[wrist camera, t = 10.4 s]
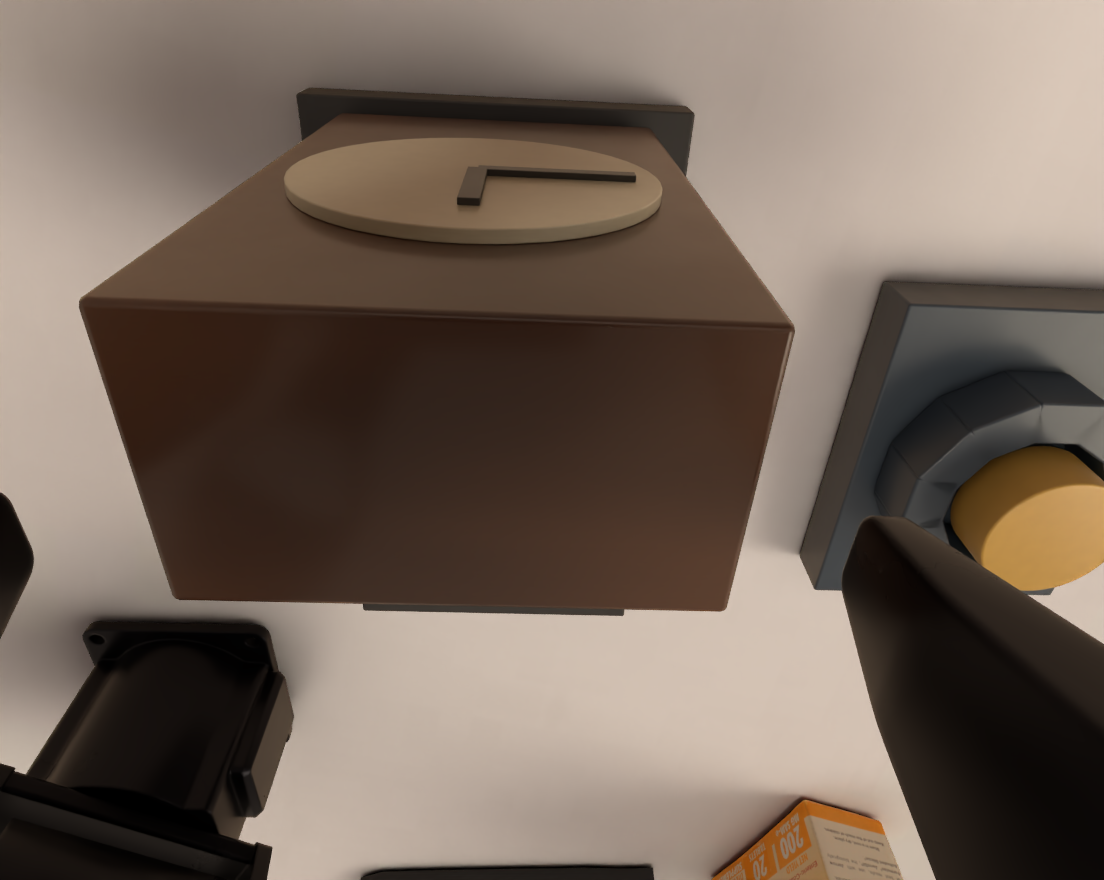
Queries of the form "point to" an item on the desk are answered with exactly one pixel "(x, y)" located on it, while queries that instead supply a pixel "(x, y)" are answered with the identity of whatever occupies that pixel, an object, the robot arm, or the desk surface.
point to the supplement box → (818, 849)
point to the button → (1033, 517)
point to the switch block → (956, 404)
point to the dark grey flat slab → (661, 119)
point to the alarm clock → (448, 374)
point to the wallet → (519, 874)
